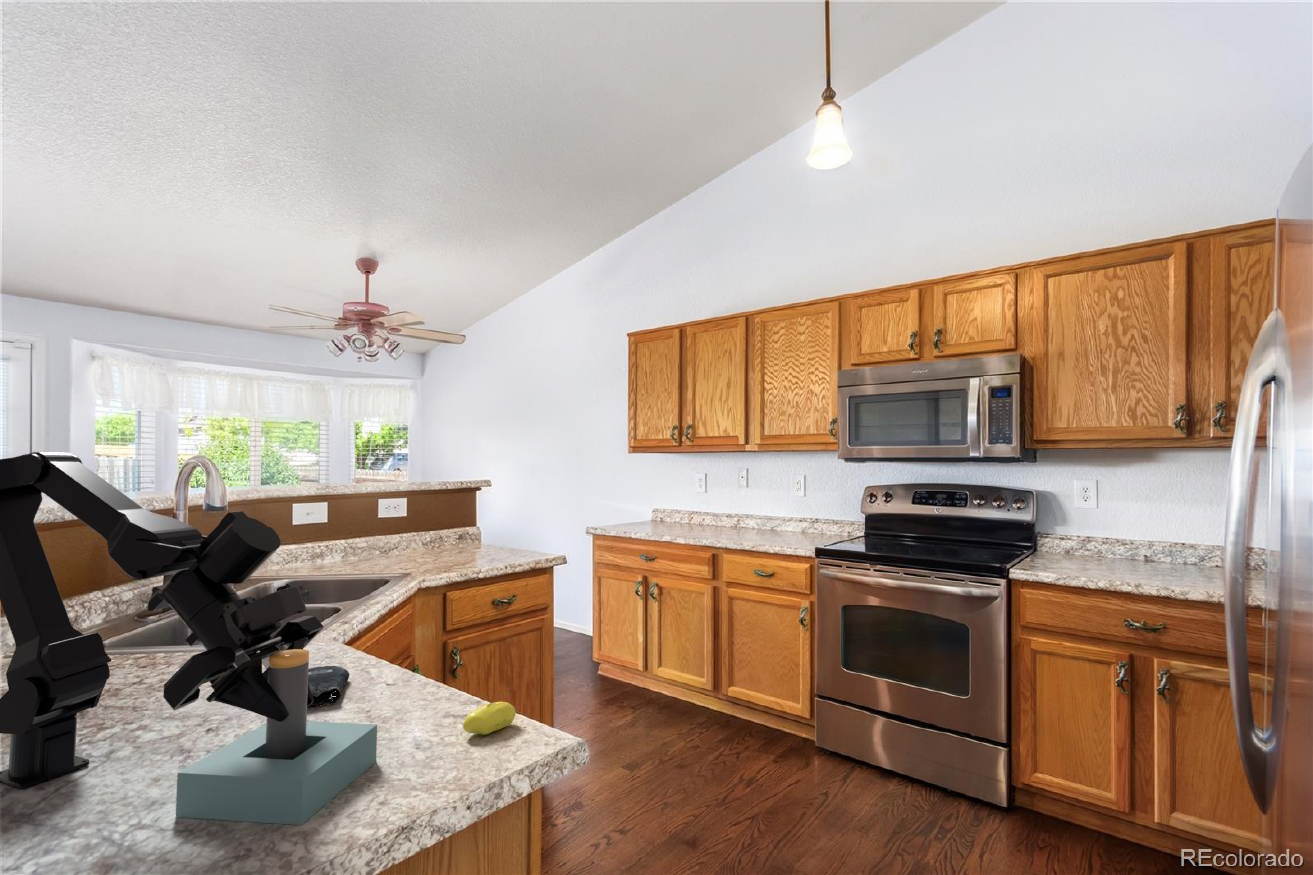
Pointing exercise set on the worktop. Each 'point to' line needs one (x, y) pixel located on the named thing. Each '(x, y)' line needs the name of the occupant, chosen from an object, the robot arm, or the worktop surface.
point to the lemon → (489, 718)
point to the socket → (276, 776)
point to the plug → (288, 704)
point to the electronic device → (327, 682)
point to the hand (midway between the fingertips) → (298, 711)
